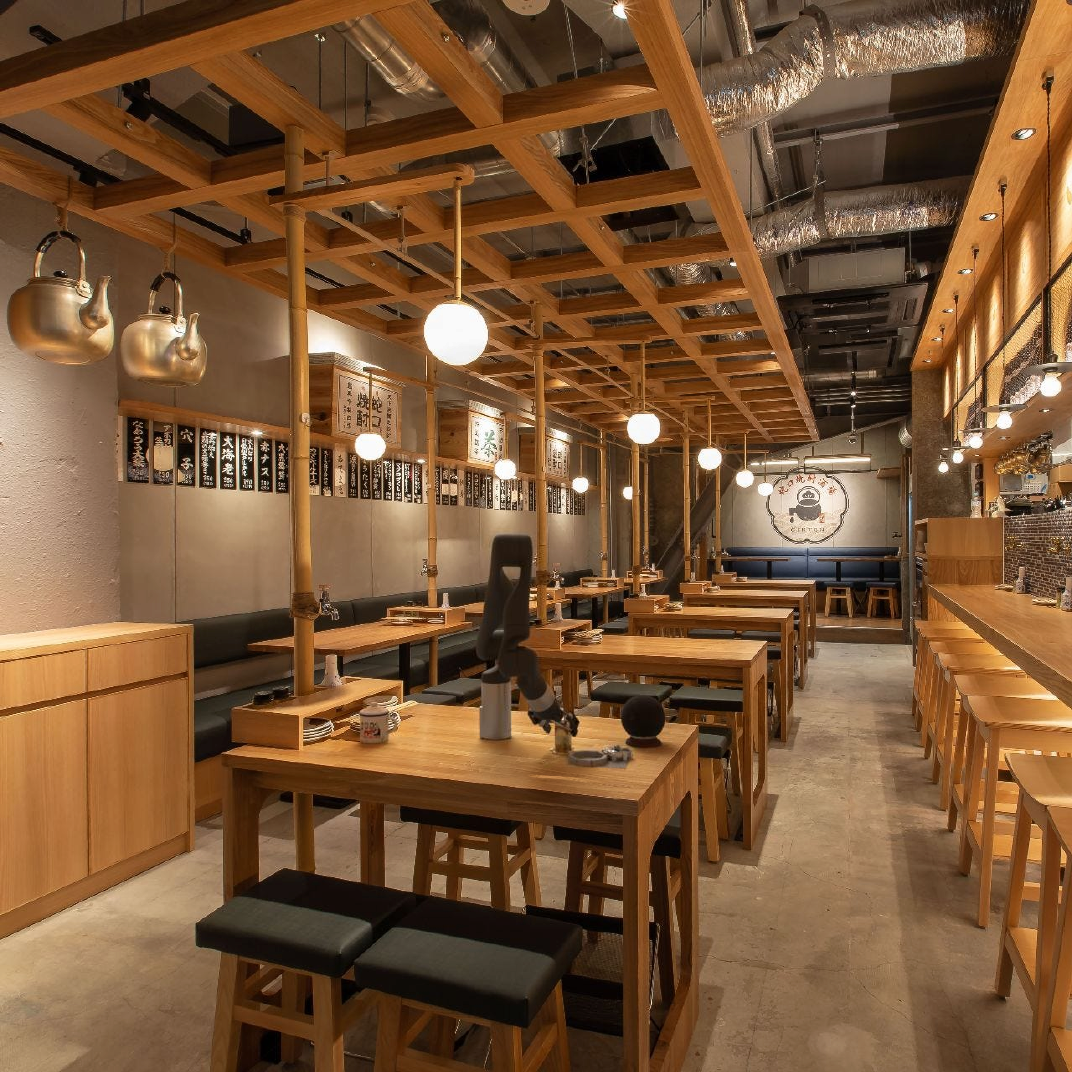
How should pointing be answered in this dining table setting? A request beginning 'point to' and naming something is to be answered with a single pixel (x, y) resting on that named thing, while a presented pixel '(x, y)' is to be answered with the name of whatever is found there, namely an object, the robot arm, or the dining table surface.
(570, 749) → the gear hub
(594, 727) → the dining table surface
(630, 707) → the black ball on stand
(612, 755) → the gear
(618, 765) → the gear board
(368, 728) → the teacup with lid
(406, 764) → the dining table surface
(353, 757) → the dining table surface
